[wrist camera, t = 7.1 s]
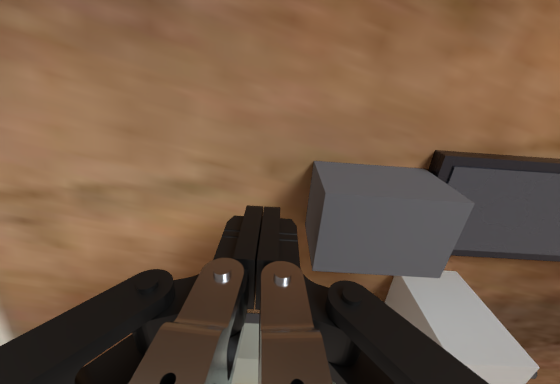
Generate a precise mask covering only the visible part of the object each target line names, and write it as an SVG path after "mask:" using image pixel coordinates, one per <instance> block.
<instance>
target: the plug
mask: <svg viewBox="0 0 560 384" xmlns="http://www.w3.org/2000/svg"><path fill="white" fill-rule="evenodd" d="M474 204H475V203H474V202H472V201H471V200H469V199H468V198H466V197H465V196H464V195H462V194H461V193H459V192H458V191H456V190H455V189H453V188H452V187H451V186H449V185H448V184H446V183H445V182H443V181H442V180H440V179H439V178H438V177H436V176H435V175H433V174H432V173H430V172H429V171H427V170H426V169H420V168H406V167H392V166H378V165H364V164H350V163H336V162H322V161H314V164H313V172H312V179H311V186H310V193H309V200H308V207H307V215H306V222H305V227H306V233H307V239H308V246H309V252H310V259H311V265H312V271H324V272H341V273H358V274H375V275H393V276H410V277H427V278H440V277H441V274H442V272H443V270H444V268H445V266H446V264H447V262H448V260H449V257H450V255H451V253H452V251H453V249H454V247H455V245H456V243H457V240H458V238H459V236H460V234H461V232H462V230H463V228H464V226H465V223H466V221H467V219H468V217H469V215H470V213H471V211H472V209H473V206H474Z"/></svg>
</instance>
